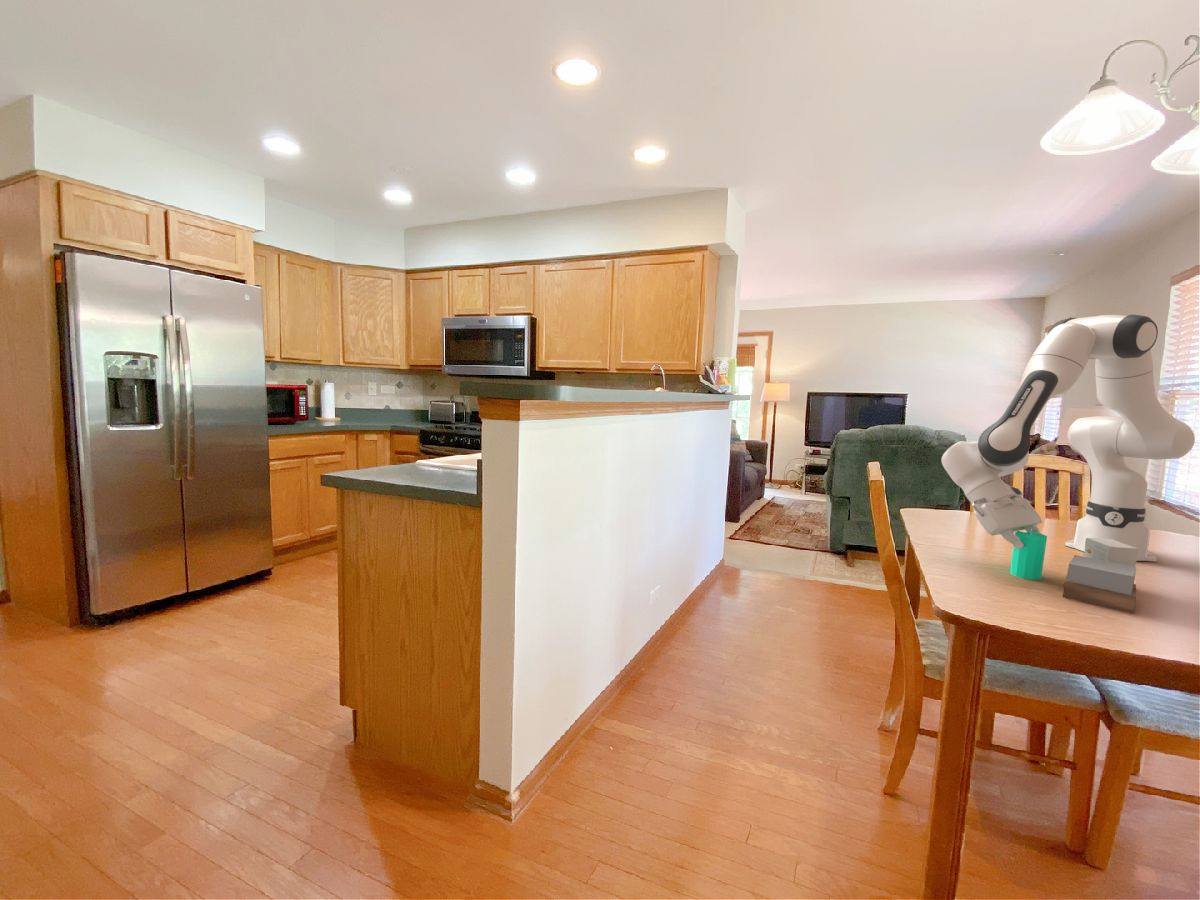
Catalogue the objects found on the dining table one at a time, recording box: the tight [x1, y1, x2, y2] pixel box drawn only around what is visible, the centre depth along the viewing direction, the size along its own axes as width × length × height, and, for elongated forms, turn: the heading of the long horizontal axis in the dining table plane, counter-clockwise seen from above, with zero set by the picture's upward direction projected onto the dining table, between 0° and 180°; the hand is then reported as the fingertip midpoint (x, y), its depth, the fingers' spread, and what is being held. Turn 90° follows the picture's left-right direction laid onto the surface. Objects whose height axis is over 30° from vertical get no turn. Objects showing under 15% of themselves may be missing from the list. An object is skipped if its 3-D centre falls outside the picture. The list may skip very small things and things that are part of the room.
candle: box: [1009, 528, 1048, 581], centre depth 128 cm, size 6×6×12 cm
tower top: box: [1066, 554, 1137, 595], centre depth 114 cm, size 10×10×4 cm
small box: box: [1083, 538, 1138, 568], centre depth 123 cm, size 8×6×10 cm
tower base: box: [1062, 576, 1137, 615], centre depth 115 cm, size 11×11×4 cm
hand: (1032, 545), depth 127 cm, fingers open, 8 cm apart
